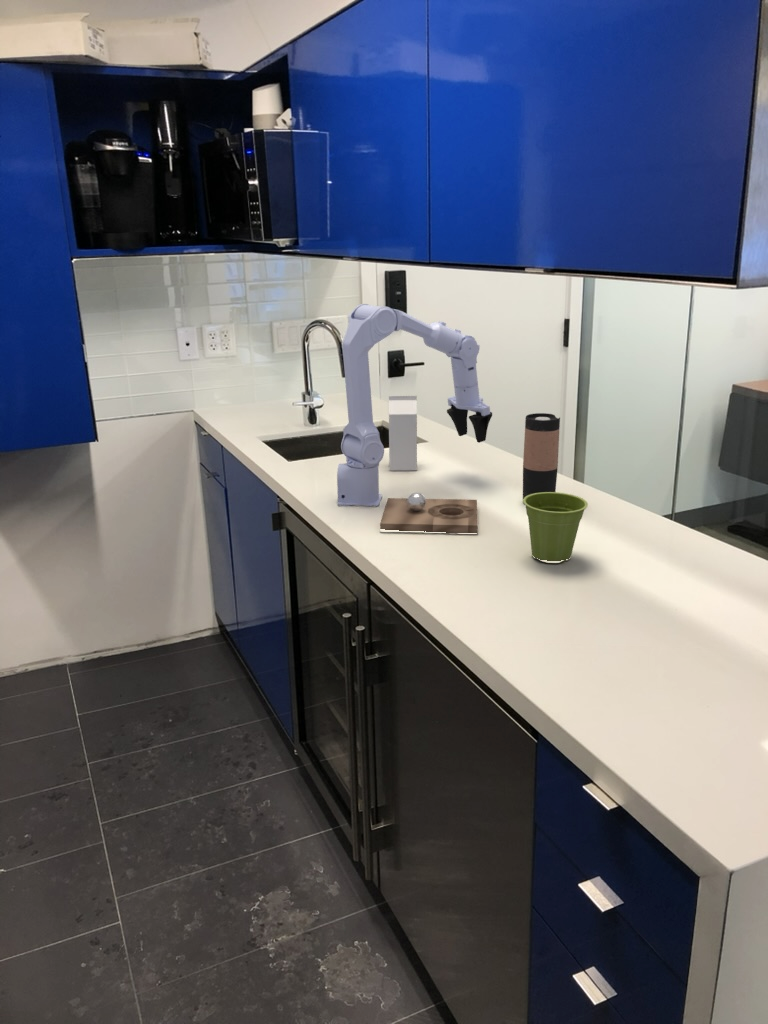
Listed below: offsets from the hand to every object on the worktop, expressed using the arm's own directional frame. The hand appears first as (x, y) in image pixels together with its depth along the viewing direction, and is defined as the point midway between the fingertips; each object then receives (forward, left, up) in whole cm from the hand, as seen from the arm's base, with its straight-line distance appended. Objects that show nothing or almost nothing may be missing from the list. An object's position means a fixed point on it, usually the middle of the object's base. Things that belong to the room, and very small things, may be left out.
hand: (472, 438), depth 204 cm
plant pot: (+15, -51, -11) cm, 54 cm away
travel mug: (+15, -18, -11) cm, 26 cm away
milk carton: (-18, +10, -11) cm, 23 cm away
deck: (-9, -31, -11) cm, 34 cm away
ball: (-12, -31, -7) cm, 34 cm away
